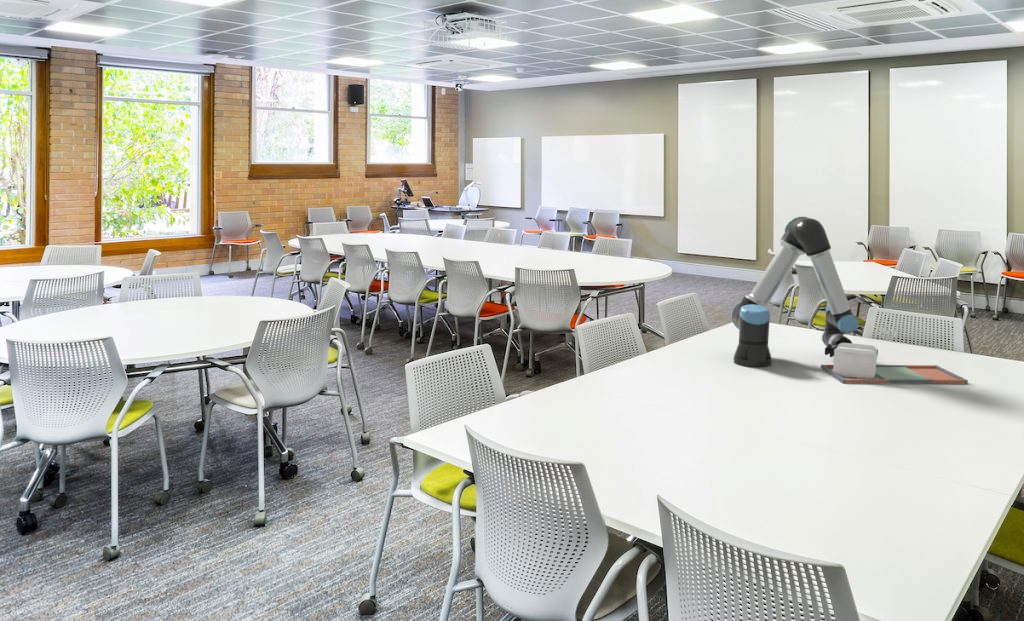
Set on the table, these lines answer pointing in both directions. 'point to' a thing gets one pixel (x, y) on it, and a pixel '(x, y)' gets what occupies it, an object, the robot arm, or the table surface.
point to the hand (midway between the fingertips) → (857, 356)
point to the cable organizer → (855, 360)
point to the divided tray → (905, 375)
